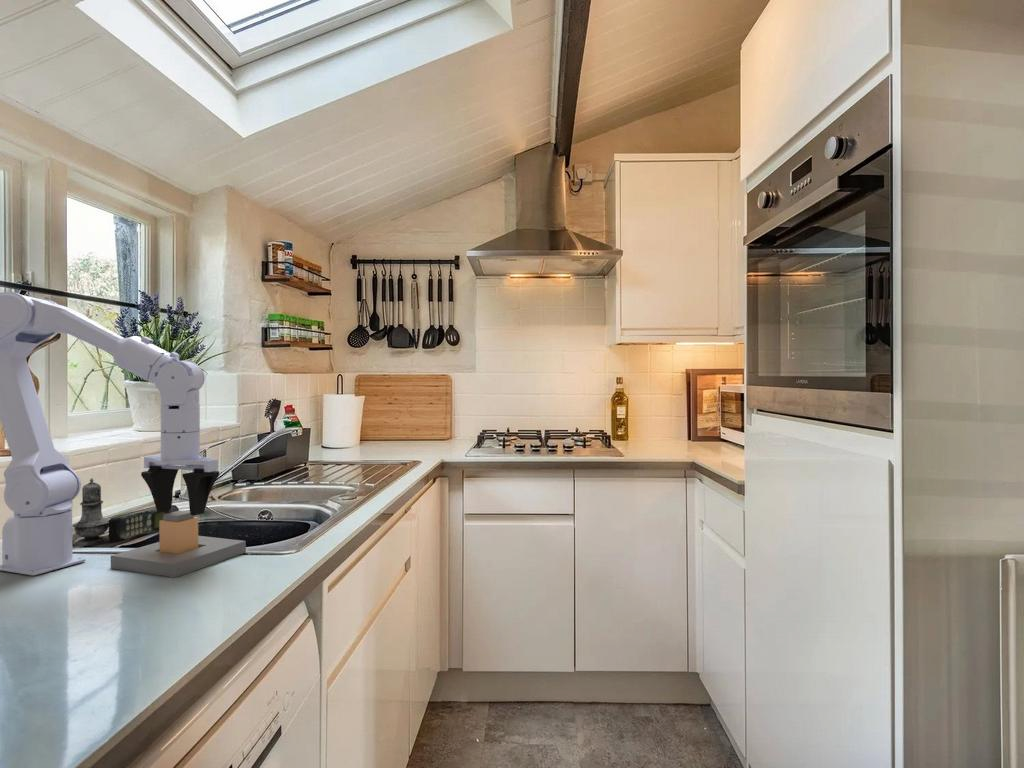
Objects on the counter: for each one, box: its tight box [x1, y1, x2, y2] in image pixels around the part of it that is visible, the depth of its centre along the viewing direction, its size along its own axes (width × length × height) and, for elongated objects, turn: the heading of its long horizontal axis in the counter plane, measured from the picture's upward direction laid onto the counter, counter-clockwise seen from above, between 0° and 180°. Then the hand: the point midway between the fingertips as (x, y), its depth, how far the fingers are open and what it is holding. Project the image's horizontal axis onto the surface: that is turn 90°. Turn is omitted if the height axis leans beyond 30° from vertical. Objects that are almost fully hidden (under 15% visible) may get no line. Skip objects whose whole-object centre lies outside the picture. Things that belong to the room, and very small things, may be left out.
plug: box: [158, 509, 199, 554], centre depth 97 cm, size 4×4×8 cm
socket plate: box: [110, 535, 247, 578], centre depth 98 cm, size 14×14×2 cm
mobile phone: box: [108, 504, 180, 543], centre depth 116 cm, size 5×3×15 cm
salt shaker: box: [72, 477, 110, 547], centre depth 109 cm, size 6×6×12 cm
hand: (180, 512), depth 98 cm, fingers open, 7 cm apart
